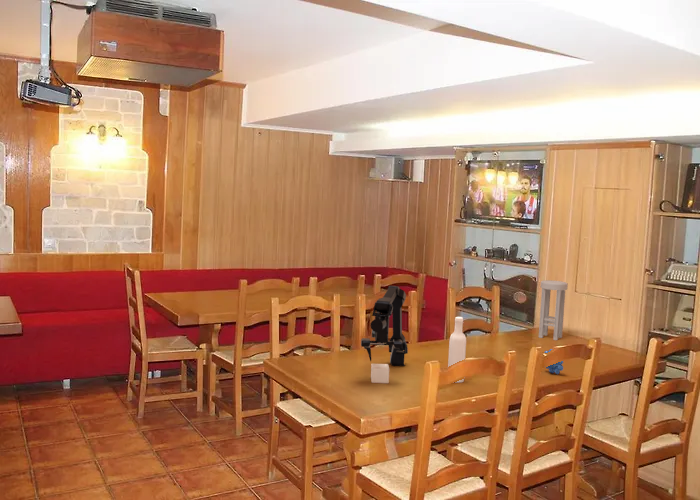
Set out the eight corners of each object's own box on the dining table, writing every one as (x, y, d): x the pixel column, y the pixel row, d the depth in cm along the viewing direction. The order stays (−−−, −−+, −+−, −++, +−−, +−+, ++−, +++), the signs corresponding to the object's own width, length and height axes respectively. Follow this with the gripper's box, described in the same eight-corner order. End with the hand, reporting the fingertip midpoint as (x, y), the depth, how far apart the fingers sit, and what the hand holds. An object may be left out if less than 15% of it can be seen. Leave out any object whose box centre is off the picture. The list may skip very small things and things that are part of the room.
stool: (559, 341, 407) (563, 284, 404) (534, 337, 415) (538, 281, 412) (566, 337, 420) (570, 282, 417) (541, 333, 428) (545, 279, 425)
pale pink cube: (387, 378, 312) (387, 364, 311) (388, 383, 304) (389, 368, 303) (370, 377, 311) (371, 363, 311) (371, 382, 304) (372, 368, 303)
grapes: (537, 371, 334) (538, 348, 333) (544, 369, 339) (546, 346, 338) (557, 377, 326) (559, 353, 325) (565, 375, 330) (566, 351, 329)
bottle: (465, 379, 315) (469, 316, 313) (462, 383, 308) (466, 319, 305) (448, 377, 318) (452, 315, 315) (445, 381, 311) (449, 317, 308)
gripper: (401, 325, 311) (399, 358, 312) (361, 323, 311) (359, 356, 312) (403, 330, 300) (401, 364, 301) (362, 328, 299) (360, 362, 301)
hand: (380, 361), depth 304 cm, fingers open, 9 cm apart
